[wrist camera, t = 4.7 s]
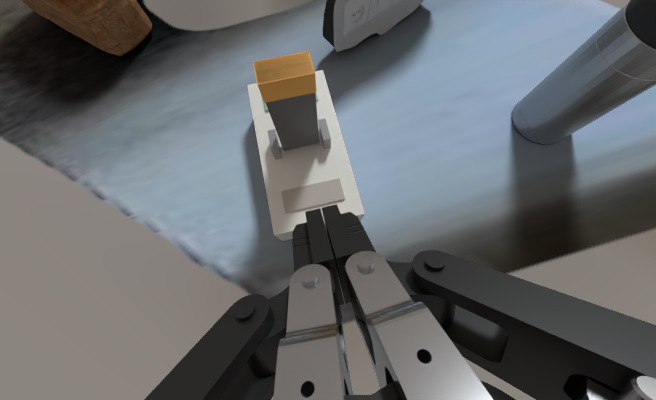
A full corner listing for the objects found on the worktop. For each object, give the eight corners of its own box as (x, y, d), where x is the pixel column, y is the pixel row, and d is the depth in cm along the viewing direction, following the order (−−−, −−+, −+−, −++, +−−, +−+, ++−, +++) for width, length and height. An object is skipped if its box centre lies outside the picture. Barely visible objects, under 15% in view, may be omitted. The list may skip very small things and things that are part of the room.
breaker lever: (316, 131, 35) (308, 51, 23) (320, 146, 35) (315, 73, 22) (280, 138, 35) (252, 61, 22) (284, 154, 34) (257, 84, 22)
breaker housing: (323, 96, 45) (322, 57, 36) (359, 222, 38) (367, 209, 30) (258, 109, 44) (242, 72, 36) (282, 241, 37) (269, 232, 29)
